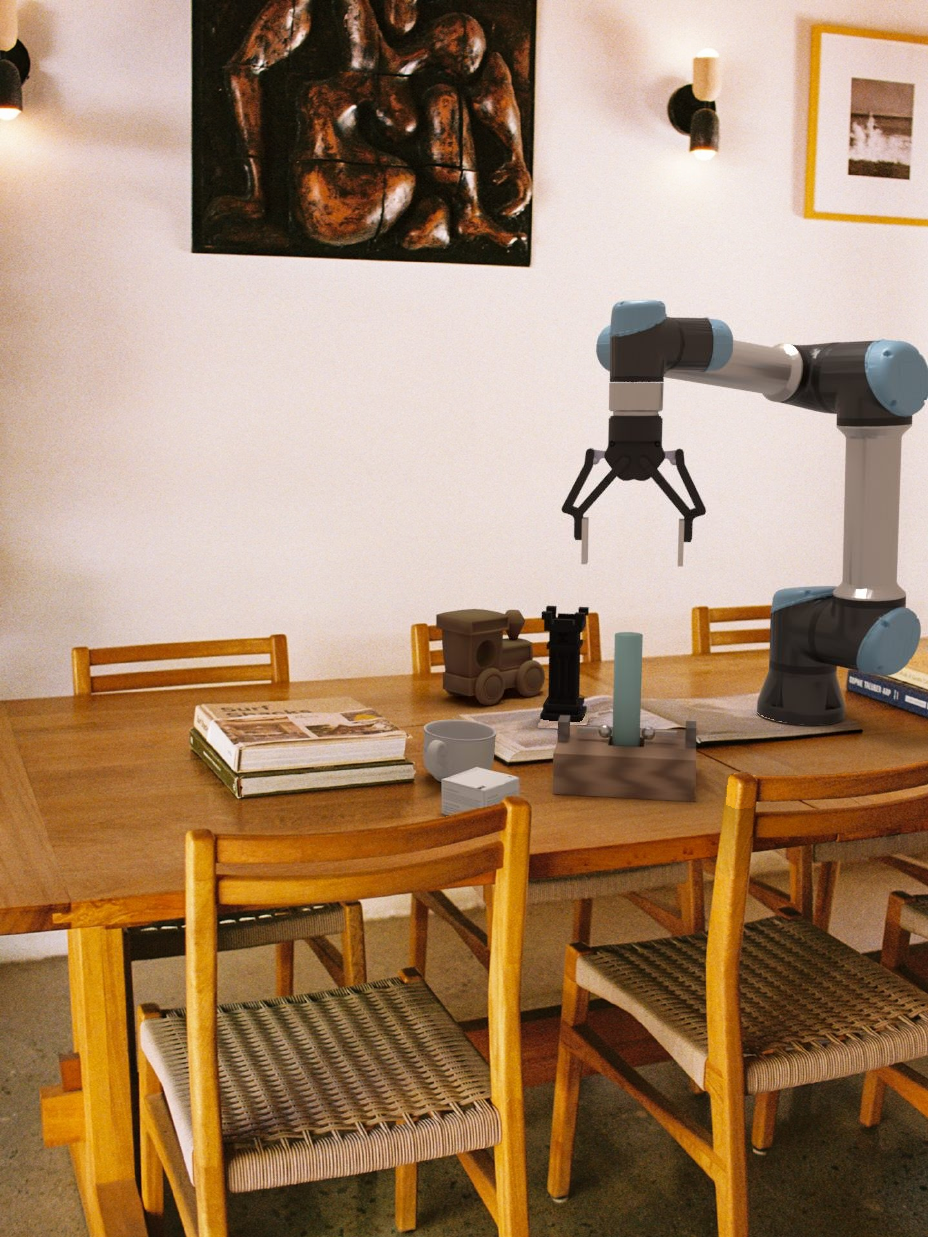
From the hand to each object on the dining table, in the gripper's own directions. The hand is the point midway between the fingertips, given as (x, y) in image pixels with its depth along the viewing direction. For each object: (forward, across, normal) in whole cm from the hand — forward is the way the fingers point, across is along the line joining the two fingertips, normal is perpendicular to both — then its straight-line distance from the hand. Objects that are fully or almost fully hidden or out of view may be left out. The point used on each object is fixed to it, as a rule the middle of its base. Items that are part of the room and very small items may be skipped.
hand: (632, 564), depth 179 cm
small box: (+32, +19, +18) cm, 42 cm away
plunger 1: (+26, +5, 0) cm, 26 cm away
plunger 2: (+26, -5, 0) cm, 26 cm away
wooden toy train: (+33, +27, -48) cm, 64 cm away
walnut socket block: (+32, 0, 0) cm, 32 cm away
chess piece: (+32, +12, -31) cm, 46 cm away
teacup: (+32, +25, +5) cm, 41 cm away
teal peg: (+32, 0, 0) cm, 32 cm away
